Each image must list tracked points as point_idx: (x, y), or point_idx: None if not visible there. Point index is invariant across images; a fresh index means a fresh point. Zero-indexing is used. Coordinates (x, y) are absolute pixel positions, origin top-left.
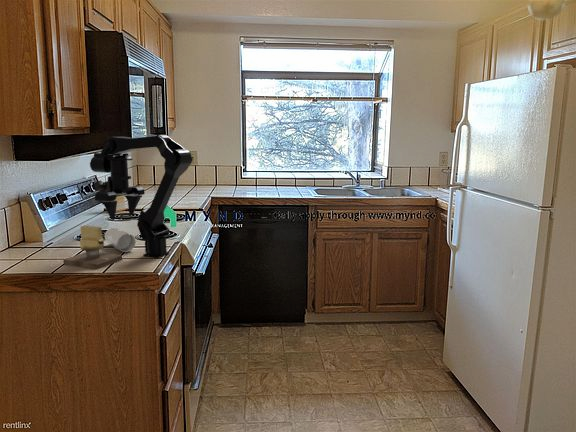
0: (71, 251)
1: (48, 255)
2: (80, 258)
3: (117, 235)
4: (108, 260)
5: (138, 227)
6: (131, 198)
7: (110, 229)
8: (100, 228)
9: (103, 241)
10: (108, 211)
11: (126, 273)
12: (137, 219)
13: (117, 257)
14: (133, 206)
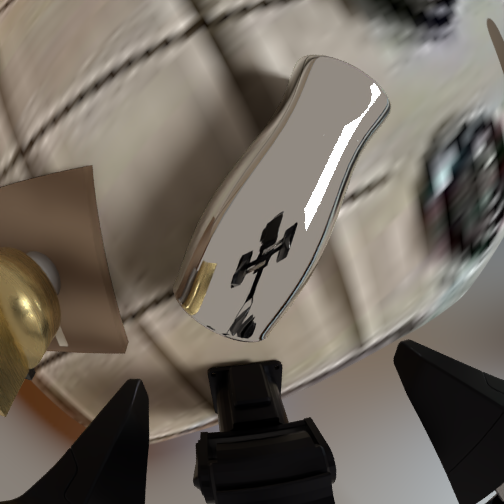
0: (111, 28)
1: (35, 23)
2: (6, 244)
3: (206, 281)
4: (61, 351)
5: (200, 469)
6: (495, 464)
7: (346, 80)
8: (3, 411)
9: (31, 379)
10: (81, 453)
11: (73, 413)
12: (217, 496)
13: (101, 352)
14: (434, 430)
